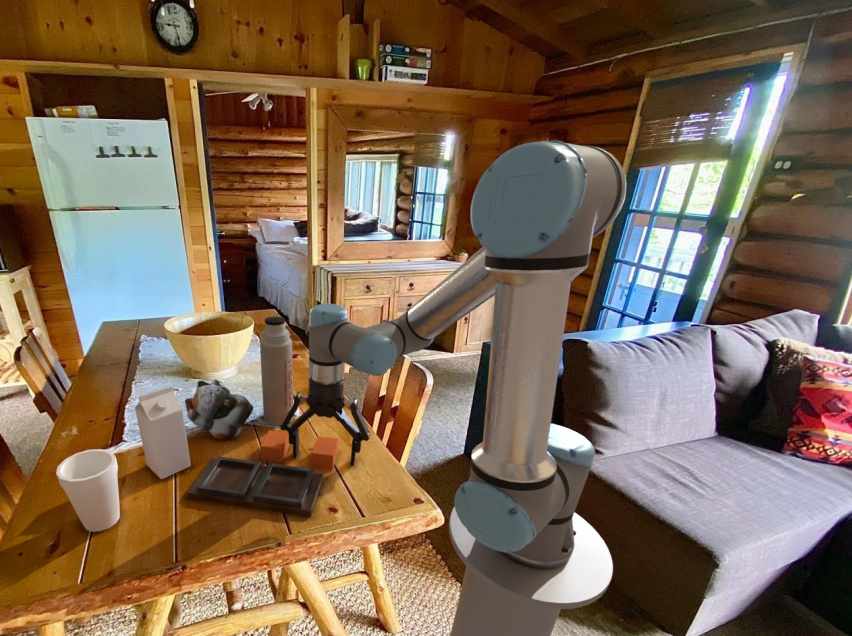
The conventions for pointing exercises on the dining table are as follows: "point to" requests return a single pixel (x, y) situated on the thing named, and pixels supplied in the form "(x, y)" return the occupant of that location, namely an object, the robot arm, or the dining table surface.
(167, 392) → the milk carton
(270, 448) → the pad
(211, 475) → the dark grey divided tray
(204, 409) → the lucky cat figurine
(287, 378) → the thermos bottle
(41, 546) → the dining table surface
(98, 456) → the foam cup
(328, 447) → the pad
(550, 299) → the robot arm
